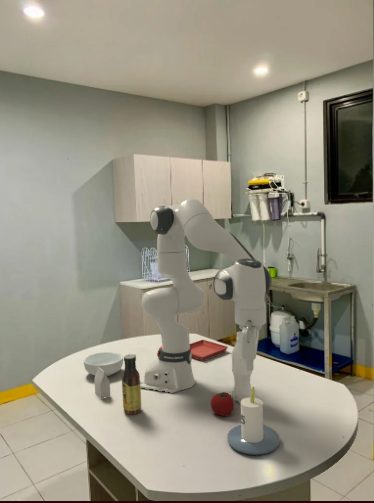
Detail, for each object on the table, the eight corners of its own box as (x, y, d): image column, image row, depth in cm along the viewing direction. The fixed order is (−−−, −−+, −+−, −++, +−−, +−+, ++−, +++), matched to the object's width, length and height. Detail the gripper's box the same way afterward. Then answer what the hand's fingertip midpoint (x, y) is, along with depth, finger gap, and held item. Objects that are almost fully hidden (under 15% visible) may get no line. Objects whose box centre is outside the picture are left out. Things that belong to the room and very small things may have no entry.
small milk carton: (101, 399, 150) (99, 373, 149) (95, 393, 156) (93, 368, 155) (110, 396, 152) (109, 371, 151) (104, 390, 158) (102, 365, 157)
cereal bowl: (111, 383, 164) (110, 366, 164) (76, 379, 170) (75, 363, 169) (130, 368, 180) (129, 352, 180) (98, 365, 186) (97, 350, 185)
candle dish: (224, 454, 113) (224, 449, 112) (230, 426, 127) (230, 422, 127) (279, 459, 109) (279, 453, 109) (279, 430, 124) (279, 425, 124)
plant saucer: (202, 363, 184) (202, 356, 183) (176, 354, 197) (176, 348, 197) (229, 353, 196) (229, 346, 195) (202, 345, 209) (202, 339, 209)
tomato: (233, 419, 132) (233, 398, 131) (209, 418, 133) (208, 397, 132) (235, 408, 139) (234, 388, 139) (212, 407, 141) (211, 387, 140)
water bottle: (254, 397, 147) (252, 330, 145) (251, 406, 140) (249, 336, 138) (235, 395, 149) (233, 329, 147) (230, 404, 142) (228, 334, 140)
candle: (236, 435, 119) (235, 386, 118) (254, 428, 122) (253, 381, 121) (249, 445, 114) (248, 394, 112) (267, 438, 117) (266, 388, 116)
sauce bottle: (124, 407, 143) (121, 353, 141) (141, 406, 143) (139, 351, 142) (122, 416, 136) (119, 359, 135) (141, 415, 137) (138, 358, 135)
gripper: (260, 327, 104) (261, 378, 106) (262, 308, 124) (263, 351, 125) (235, 326, 105) (236, 377, 107) (241, 307, 125) (242, 350, 127)
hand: (251, 363), depth 116 cm, fingers open, 8 cm apart
